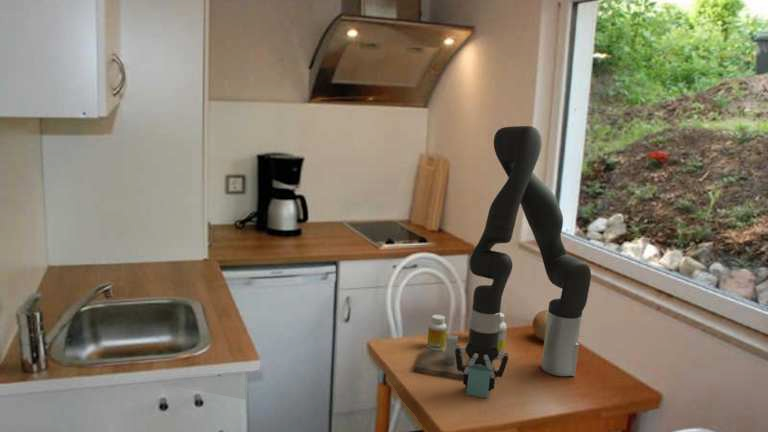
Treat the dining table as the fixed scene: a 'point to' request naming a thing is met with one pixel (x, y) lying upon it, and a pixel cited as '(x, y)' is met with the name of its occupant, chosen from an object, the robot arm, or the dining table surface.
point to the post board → (438, 364)
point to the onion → (540, 324)
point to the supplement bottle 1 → (437, 333)
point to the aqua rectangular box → (478, 381)
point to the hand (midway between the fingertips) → (478, 387)
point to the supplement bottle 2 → (501, 334)
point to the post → (451, 349)
